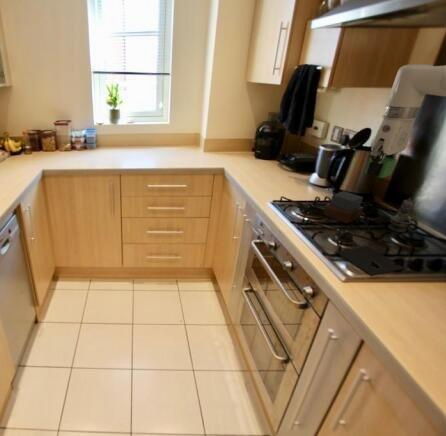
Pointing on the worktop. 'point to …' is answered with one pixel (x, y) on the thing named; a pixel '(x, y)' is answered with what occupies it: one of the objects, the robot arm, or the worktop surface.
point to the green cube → (384, 166)
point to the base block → (342, 213)
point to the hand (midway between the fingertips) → (378, 172)
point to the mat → (369, 260)
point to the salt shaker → (402, 217)
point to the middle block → (346, 200)
